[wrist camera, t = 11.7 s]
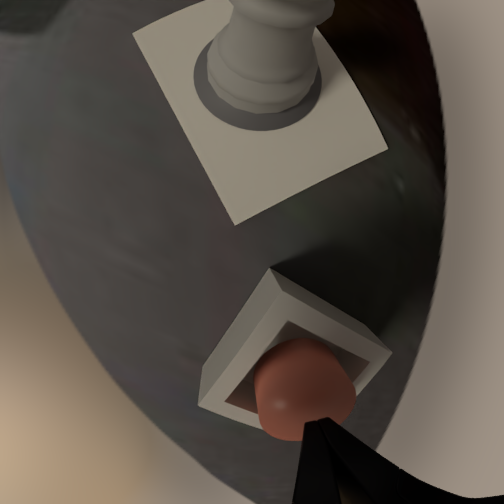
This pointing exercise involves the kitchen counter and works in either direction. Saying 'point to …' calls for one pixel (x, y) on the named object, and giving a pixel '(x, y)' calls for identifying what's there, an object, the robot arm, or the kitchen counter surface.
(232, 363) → the button housing
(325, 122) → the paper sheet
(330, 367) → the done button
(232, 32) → the rook chess piece
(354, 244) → the kitchen counter surface
